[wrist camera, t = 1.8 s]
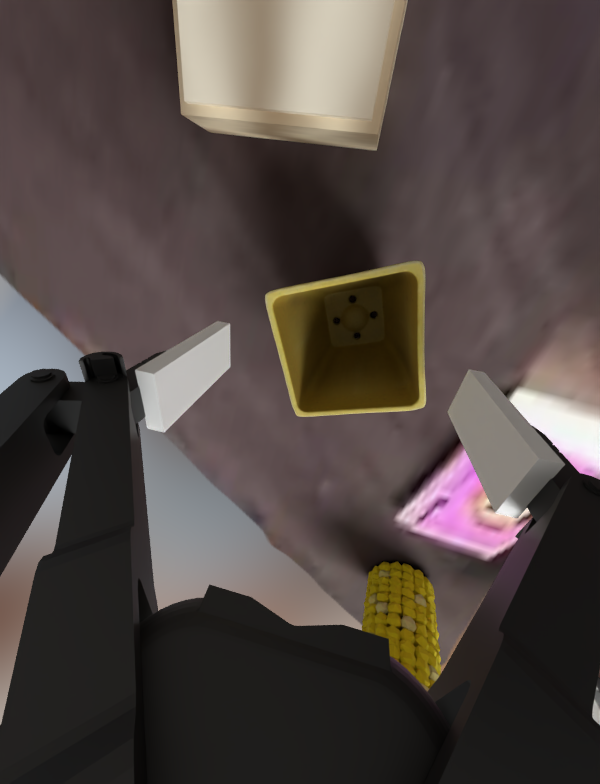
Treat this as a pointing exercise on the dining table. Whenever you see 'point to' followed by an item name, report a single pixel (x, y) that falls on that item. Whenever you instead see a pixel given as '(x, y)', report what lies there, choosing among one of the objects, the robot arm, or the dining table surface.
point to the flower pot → (353, 341)
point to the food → (404, 618)
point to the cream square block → (288, 67)
